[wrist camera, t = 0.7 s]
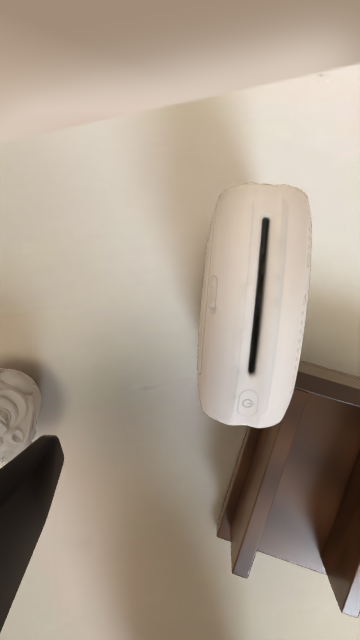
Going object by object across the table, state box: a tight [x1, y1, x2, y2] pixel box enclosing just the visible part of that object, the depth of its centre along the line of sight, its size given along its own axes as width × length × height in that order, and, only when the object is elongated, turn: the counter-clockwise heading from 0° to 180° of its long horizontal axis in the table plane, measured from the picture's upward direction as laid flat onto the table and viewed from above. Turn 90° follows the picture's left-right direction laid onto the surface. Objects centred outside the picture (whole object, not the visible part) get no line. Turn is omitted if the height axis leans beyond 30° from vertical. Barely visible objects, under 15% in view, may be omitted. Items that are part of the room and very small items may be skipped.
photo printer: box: [197, 183, 312, 428], centre depth 18 cm, size 10×4×12 cm, turn 175°
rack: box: [217, 361, 360, 618], centre depth 22 cm, size 14×9×5 cm, turn 164°
